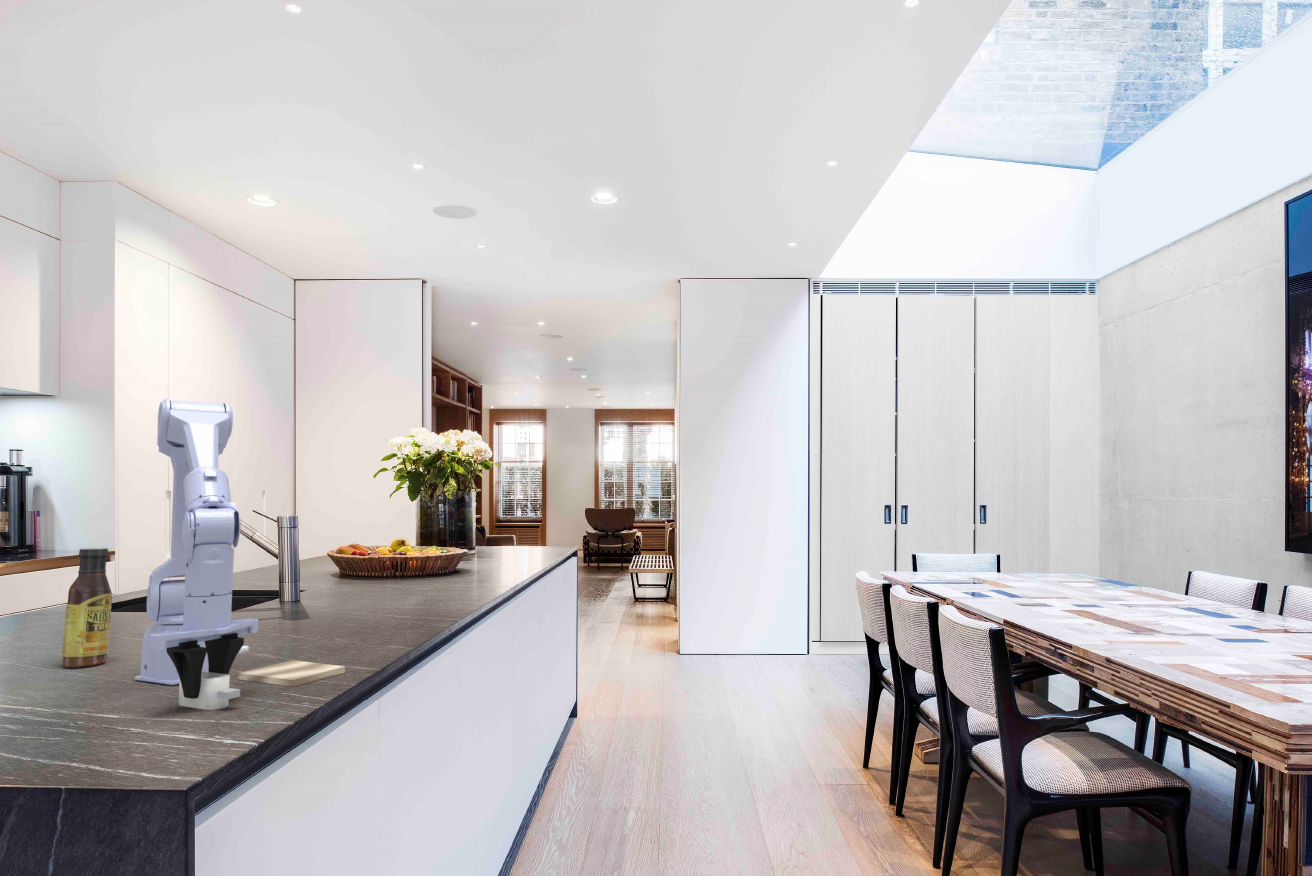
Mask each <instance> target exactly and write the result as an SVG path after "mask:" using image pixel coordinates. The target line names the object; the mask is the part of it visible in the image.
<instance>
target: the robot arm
mask: <svg viewBox="0 0 1312 876" xmlns="http://www.w3.org/2000/svg"><path fill="white" fill-rule="evenodd" d="M233 413H234V412H233V408H232V406H230V404H229V403H227V402H224V403H214V402H201V401H199V402H198V401H187V400H173V399H169V398H163V400H162V401H161V402H160V403H159V406H158V413H157V438H156V439H157V440H156V441H157V442H156V443H157V445H156V446H158V453H161V454H163V455H165V456H167V457H169V458H170V461H171V466H172V469H173V480H172V481H173V484H172V485H173V486H172V509H171V511H172V513H171V536H170V537H171V540H170V541H171V542H170V545H171V546H170V558H169V559H168V560H166V562H165V561H164V562H163V563H162V564H160V565H159V566H158V567H156V568H155V569H153V570H152V571H151V573H150V575H149V579H148V580H149V581H148V587H147V592H146V593H147V595H146V615H147V618H148V619H149V620H150V621H151V622H154V623H152V624H151V625H149V626H148V627H147V629H146V630H145V632H144V634H143V636H142V644H141V660H140V675H135V676H134V680H136V681H142V682H149V683H156V684H163V685H168V686H169V685H171V686H174V685H179V683H180V681H181V685H182V689H183V694H184V697H185V698H191V699H195V698H198V697H199V692H200V686H201V672H202V671H204V672H212V673H220V674H227V675H230V674H229V673H230V671H231V668H232V666H233V663H234V661H235V659H236V657H237V654H238V652H239V651H240V649H241V648H242V646H245V638H244V637H239V636H240V635H245V634H256V633H258V632H259V619H258V618H249V617H248V618H243V619H236V620H235V619H233V620H232V604H233V601H232V600H233V580H234V559H235V558H234V557H235V549H234V548H237V546H238V545H239V541H240V536H241V525H242V524H241V515H240V510H239V508H238V507H237V505H236V503H235V502H233V501H232V495H231V488H230V480H229V476H228V474H227V473H226V472H224V471H223V470H221V469H220V468H219V456H220V455H222V454H223V452H224V450H225V449H226V447H227V444H228V442H229V439H230V437H231V435H232V432H233V424H234V423H233V421H234V414H233ZM168 578H169V580H166V579H168ZM170 578H184V579H170ZM164 579H165V580H164ZM238 655H239V654H238Z"/></svg>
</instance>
